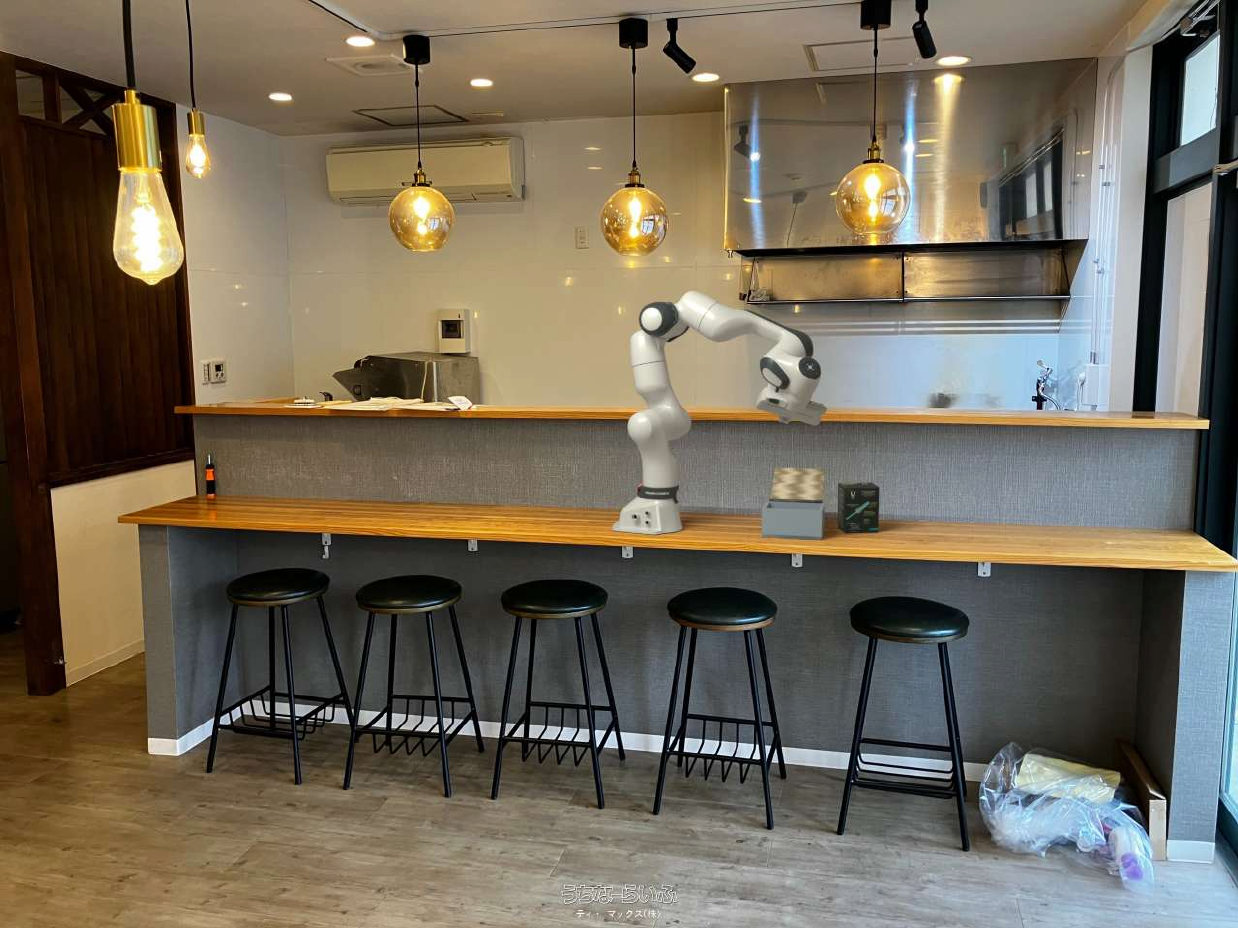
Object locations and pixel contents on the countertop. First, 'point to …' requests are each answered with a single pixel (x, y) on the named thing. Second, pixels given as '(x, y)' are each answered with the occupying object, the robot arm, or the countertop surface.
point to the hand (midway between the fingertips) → (783, 421)
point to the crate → (793, 520)
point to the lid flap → (798, 485)
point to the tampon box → (858, 507)
